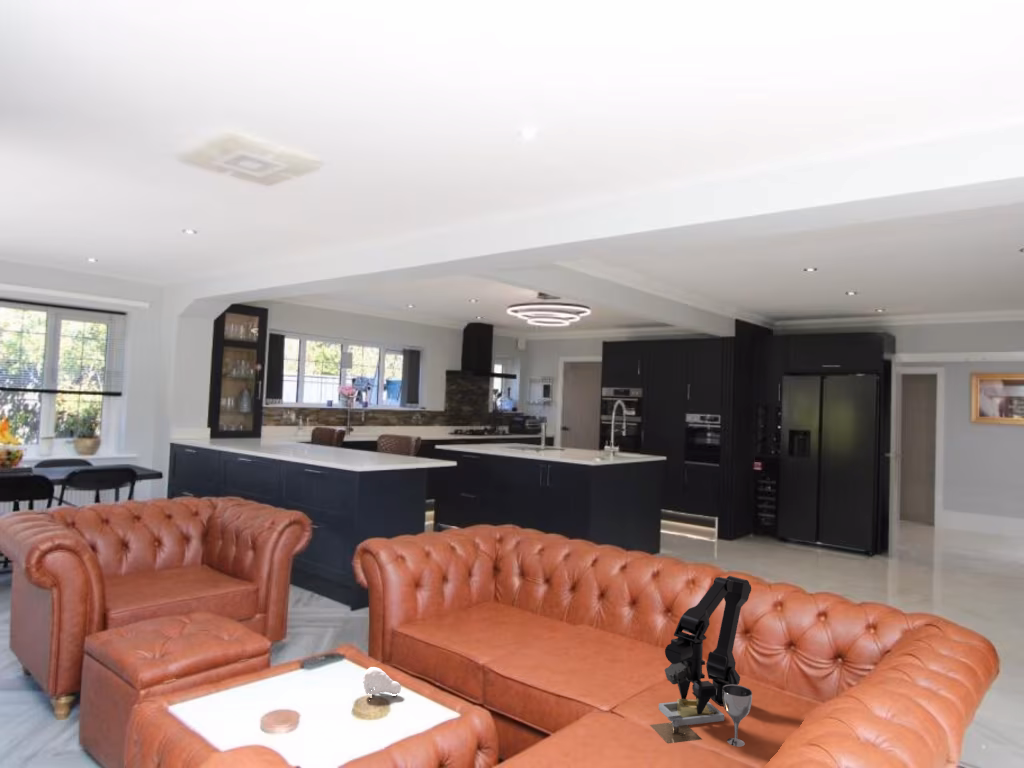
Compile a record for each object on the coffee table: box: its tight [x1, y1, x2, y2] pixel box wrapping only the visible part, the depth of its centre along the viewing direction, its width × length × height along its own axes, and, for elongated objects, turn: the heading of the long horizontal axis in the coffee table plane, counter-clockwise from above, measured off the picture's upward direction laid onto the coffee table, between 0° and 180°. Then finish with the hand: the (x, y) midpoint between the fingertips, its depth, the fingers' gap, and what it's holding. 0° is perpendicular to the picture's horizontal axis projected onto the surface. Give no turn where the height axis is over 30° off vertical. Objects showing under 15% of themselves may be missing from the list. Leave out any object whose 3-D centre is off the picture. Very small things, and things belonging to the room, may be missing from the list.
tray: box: [658, 701, 725, 726], centre depth 211 cm, size 16×11×2 cm
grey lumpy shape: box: [362, 666, 402, 695], centre depth 219 cm, size 6×8×12 cm
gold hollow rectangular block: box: [676, 698, 714, 718], centre depth 211 cm, size 10×6×3 cm, turn 87°
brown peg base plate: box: [649, 715, 703, 745], centre depth 200 cm, size 11×11×5 cm
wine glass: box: [722, 684, 753, 748], centre depth 195 cm, size 8×8×15 cm
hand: (691, 707), depth 211 cm, fingers open, 9 cm apart
